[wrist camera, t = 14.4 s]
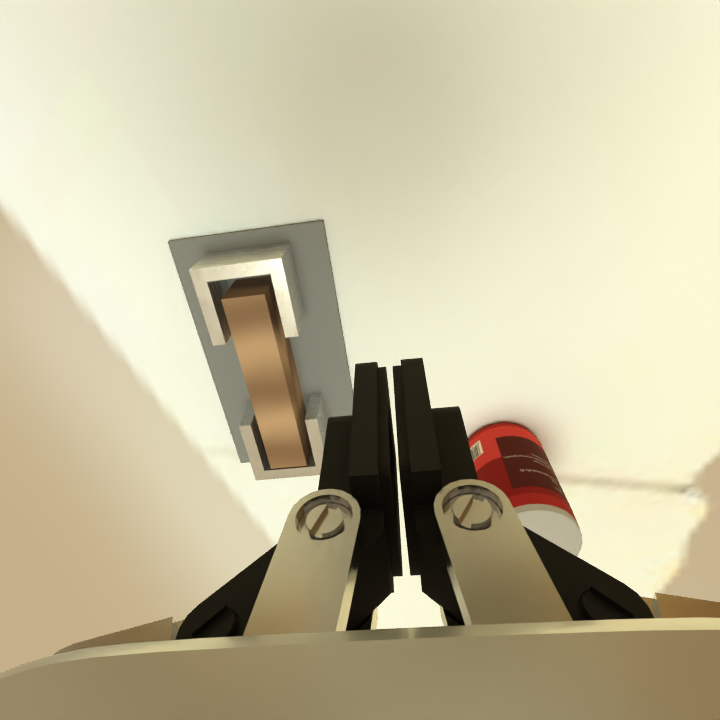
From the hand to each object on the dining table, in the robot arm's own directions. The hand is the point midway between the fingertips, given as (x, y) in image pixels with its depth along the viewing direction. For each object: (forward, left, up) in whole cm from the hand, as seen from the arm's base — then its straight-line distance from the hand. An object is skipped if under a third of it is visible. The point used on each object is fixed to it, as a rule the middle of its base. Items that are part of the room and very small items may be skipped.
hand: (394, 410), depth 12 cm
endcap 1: (+5, -10, -26) cm, 29 cm away
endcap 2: (+19, -11, -26) cm, 34 cm away
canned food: (+25, +9, -27) cm, 37 cm away
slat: (+13, -11, -26) cm, 31 cm away
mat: (+12, -10, -27) cm, 31 cm away
